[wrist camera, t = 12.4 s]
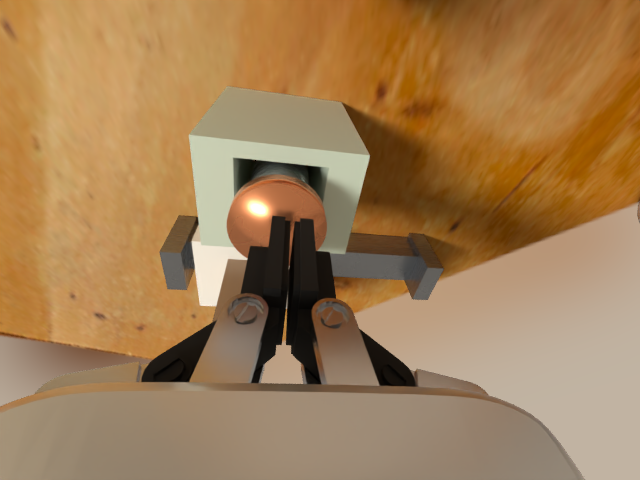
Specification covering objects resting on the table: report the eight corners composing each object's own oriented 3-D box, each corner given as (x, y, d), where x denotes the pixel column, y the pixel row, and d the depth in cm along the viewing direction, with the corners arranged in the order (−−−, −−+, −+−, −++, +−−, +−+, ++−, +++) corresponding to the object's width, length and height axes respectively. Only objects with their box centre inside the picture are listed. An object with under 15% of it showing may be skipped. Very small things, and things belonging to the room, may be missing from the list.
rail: (423, 234, 30) (444, 268, 26) (410, 264, 32) (427, 299, 29) (179, 215, 27) (159, 252, 23) (184, 250, 29) (167, 289, 25)
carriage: (300, 219, 26) (304, 310, 18) (292, 277, 30) (293, 372, 22) (203, 211, 25) (164, 305, 17) (209, 273, 29) (180, 372, 21)
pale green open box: (341, 102, 22) (369, 155, 14) (327, 177, 26) (344, 254, 18) (227, 86, 21) (188, 134, 13) (230, 167, 24) (201, 245, 16)
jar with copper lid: (323, 143, 17) (334, 190, 12) (312, 210, 19) (319, 269, 15) (242, 133, 16) (224, 180, 12) (242, 204, 19) (228, 264, 14)
